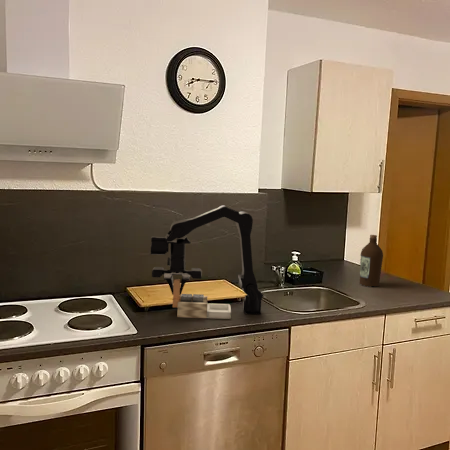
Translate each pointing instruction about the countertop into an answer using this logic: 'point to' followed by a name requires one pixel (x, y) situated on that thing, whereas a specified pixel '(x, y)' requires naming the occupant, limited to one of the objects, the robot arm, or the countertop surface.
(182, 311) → the rail
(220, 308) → the tray
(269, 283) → the countertop surface
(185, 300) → the grey cube
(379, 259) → the olive oil
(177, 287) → the rake tool
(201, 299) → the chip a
